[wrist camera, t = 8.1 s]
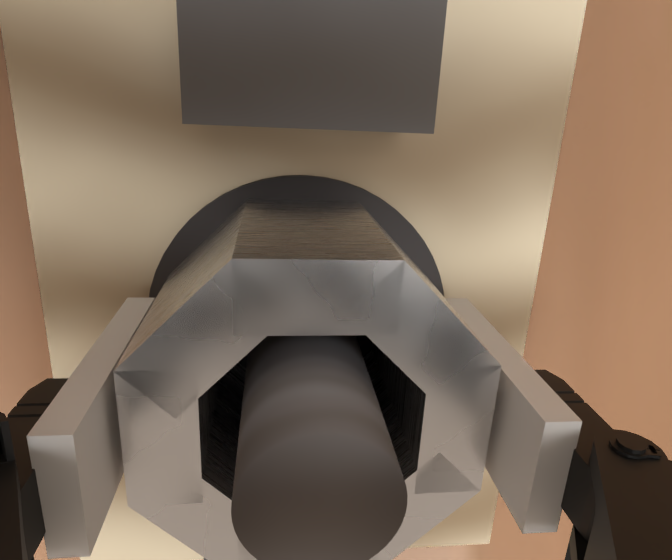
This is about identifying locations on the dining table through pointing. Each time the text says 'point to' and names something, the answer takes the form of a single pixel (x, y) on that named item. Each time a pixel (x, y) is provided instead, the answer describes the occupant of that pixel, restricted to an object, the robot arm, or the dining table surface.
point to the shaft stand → (290, 184)
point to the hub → (297, 320)
